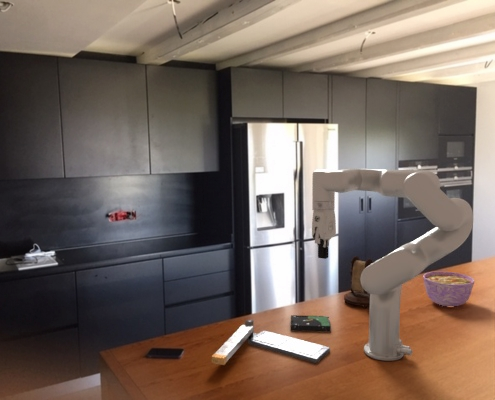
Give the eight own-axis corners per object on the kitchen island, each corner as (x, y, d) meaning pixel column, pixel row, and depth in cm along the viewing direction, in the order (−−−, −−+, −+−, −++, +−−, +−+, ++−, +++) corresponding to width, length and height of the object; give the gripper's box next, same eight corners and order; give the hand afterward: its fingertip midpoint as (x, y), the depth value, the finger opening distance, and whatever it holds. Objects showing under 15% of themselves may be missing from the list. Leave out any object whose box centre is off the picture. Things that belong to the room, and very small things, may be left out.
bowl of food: (476, 301, 202) (477, 275, 201) (469, 316, 185) (471, 287, 184) (427, 293, 213) (428, 269, 211) (417, 307, 196) (418, 280, 195)
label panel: (329, 351, 156) (329, 346, 155) (316, 363, 147) (316, 358, 147) (251, 330, 174) (251, 326, 173) (235, 340, 165) (235, 335, 165)
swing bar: (224, 370, 141) (223, 355, 141) (211, 368, 143) (211, 353, 142) (256, 333, 169) (256, 320, 168) (245, 331, 170) (245, 318, 169)
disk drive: (290, 332, 173) (331, 333, 172) (290, 325, 173) (331, 325, 172) (290, 321, 184) (328, 322, 182) (290, 315, 183) (328, 315, 182)
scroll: (337, 302, 203) (337, 257, 200) (356, 295, 213) (357, 251, 210) (366, 311, 192) (367, 263, 189) (385, 303, 202) (387, 257, 199)
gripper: (323, 209, 153) (323, 264, 155) (342, 203, 165) (341, 254, 167) (303, 207, 157) (303, 261, 159) (323, 202, 169) (322, 252, 172)
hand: (323, 257), depth 163 cm, fingers closed
